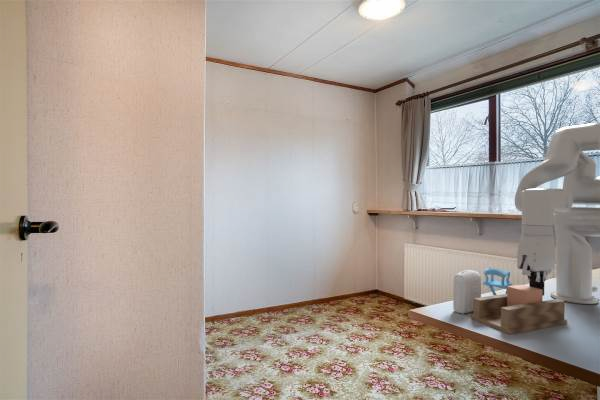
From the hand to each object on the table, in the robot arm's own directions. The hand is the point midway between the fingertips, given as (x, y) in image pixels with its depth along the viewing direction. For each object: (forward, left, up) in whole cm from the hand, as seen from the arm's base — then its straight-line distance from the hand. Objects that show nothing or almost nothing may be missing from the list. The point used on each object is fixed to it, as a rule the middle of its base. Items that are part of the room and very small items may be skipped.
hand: (536, 294), depth 97 cm
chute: (+7, 0, -7) cm, 10 cm away
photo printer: (+13, -12, -7) cm, 19 cm away
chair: (-1, -13, -7) cm, 15 cm away
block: (+5, 0, -6) cm, 8 cm away
